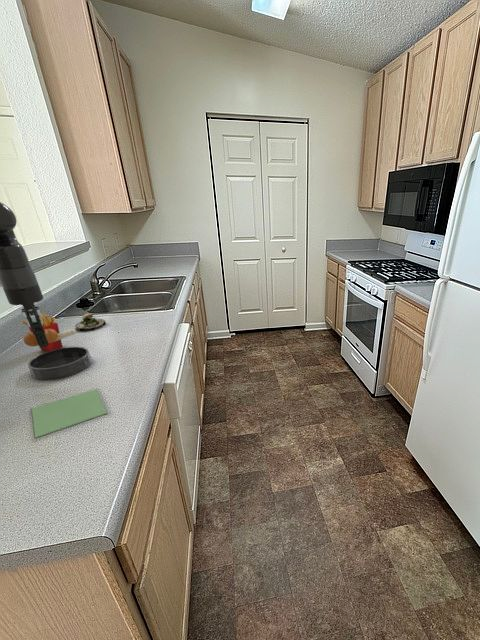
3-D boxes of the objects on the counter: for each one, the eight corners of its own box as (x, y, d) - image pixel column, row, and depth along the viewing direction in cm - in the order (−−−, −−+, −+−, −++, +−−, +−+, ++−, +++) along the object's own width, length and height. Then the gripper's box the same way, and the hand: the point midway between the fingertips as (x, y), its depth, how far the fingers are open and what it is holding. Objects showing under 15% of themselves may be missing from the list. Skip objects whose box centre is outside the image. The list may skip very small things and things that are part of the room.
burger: (76, 333, 143) (70, 317, 139) (75, 325, 152) (70, 310, 148) (107, 327, 148) (103, 311, 145) (104, 320, 157) (100, 305, 154)
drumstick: (27, 351, 92) (21, 338, 90) (25, 344, 95) (20, 331, 92) (78, 339, 99) (74, 327, 97) (75, 332, 101) (71, 321, 99)
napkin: (32, 409, 92) (31, 408, 92) (96, 389, 101) (96, 388, 101) (35, 438, 81) (35, 437, 81) (107, 413, 90) (107, 412, 90)
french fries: (53, 344, 133) (39, 308, 126) (69, 346, 130) (56, 310, 124) (32, 353, 125) (16, 315, 118) (49, 356, 123) (33, 317, 116)
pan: (31, 366, 116) (26, 356, 114) (87, 352, 125) (83, 342, 123) (34, 385, 104) (29, 374, 102) (95, 369, 113) (92, 358, 111)
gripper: (1, 281, 90) (25, 339, 98) (2, 292, 80) (29, 355, 88) (35, 277, 95) (55, 333, 102) (40, 286, 85) (62, 347, 92)
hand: (43, 343), depth 95 cm, fingers closed on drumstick, 4 cm apart
